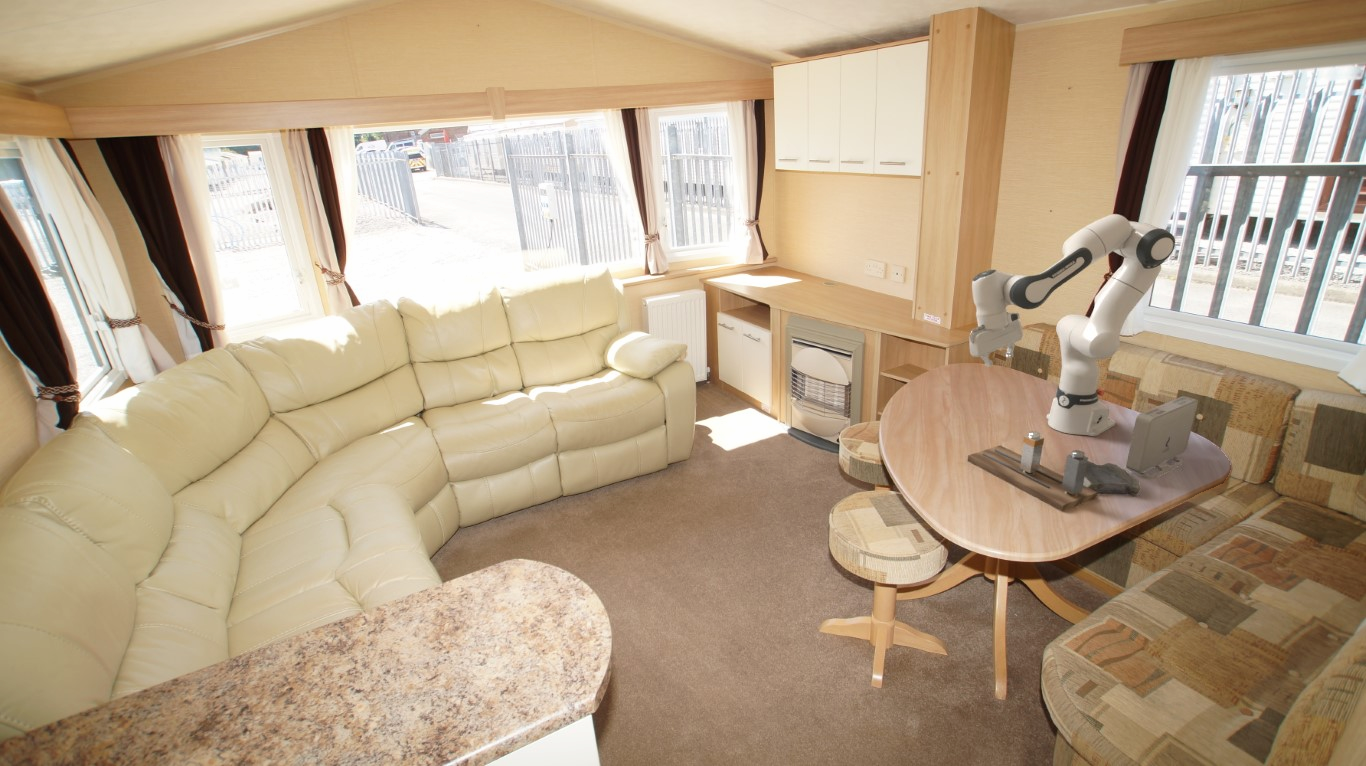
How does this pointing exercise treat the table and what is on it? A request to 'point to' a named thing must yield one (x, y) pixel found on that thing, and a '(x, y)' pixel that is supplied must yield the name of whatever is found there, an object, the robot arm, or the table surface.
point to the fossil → (1110, 480)
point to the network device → (1161, 436)
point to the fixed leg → (1074, 472)
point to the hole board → (1030, 478)
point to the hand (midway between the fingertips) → (999, 361)
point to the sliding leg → (1031, 452)
